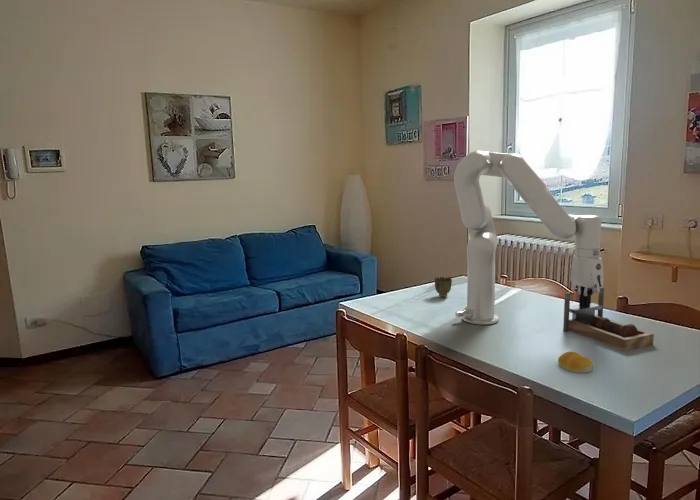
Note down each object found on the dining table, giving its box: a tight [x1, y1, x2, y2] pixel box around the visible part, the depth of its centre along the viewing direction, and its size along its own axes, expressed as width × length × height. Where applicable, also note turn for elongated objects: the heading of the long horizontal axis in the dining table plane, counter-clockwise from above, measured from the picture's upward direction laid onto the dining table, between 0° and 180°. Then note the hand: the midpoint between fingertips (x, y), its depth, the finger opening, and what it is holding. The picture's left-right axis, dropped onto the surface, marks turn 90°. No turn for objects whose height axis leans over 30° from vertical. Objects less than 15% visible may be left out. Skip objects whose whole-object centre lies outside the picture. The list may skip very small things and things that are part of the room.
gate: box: [569, 302, 602, 324], centre depth 172 cm, size 12×4×6 cm, turn 112°
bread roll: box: [557, 350, 595, 374], centre depth 141 cm, size 8×9×4 cm
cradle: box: [562, 286, 655, 352], centre depth 162 cm, size 17×22×13 cm
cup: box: [433, 276, 453, 298], centre depth 216 cm, size 8×7×8 cm
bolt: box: [590, 317, 638, 338], centre depth 162 cm, size 6×5×15 cm
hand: (584, 306), depth 172 cm, fingers closed
